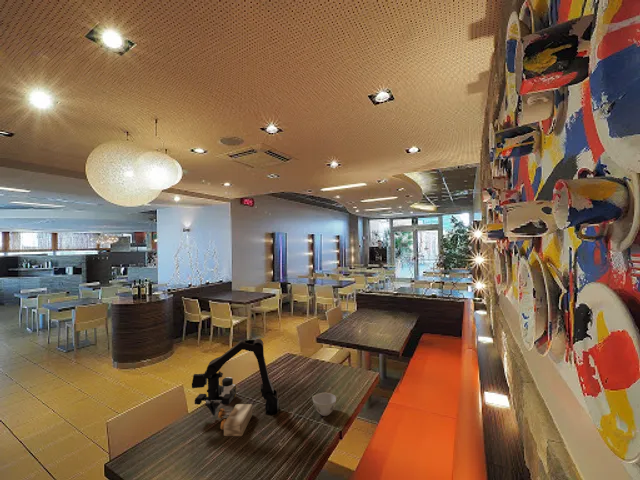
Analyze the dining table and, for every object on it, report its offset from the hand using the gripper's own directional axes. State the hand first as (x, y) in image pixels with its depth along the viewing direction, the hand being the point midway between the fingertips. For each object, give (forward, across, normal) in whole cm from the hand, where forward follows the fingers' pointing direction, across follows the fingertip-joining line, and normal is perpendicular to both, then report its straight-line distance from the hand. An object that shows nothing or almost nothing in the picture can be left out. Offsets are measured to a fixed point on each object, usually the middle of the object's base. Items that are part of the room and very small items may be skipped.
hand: (214, 415), depth 149 cm
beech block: (+2, -15, +5) cm, 15 cm away
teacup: (+2, -58, -8) cm, 58 cm away
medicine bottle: (+2, 0, -19) cm, 20 cm away
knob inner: (+1, -8, 0) cm, 8 cm away
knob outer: (+1, -13, +9) cm, 16 cm away
